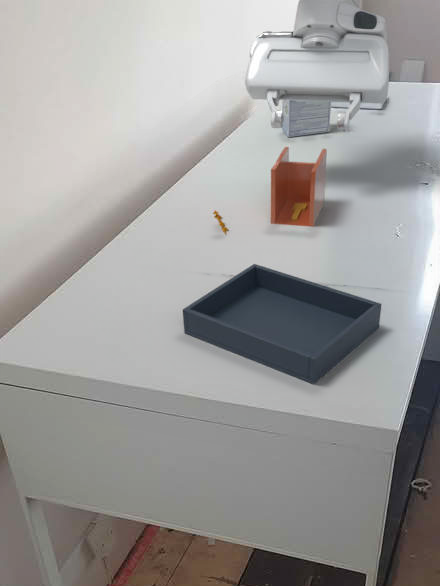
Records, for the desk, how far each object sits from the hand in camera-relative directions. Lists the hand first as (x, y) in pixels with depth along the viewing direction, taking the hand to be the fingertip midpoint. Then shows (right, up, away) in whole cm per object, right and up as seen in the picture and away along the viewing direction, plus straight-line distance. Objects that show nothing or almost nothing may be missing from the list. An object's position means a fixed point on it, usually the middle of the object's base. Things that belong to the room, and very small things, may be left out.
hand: (309, 127), depth 101 cm
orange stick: (-12, -14, 0) cm, 19 cm away
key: (-1, -12, +1) cm, 12 cm away
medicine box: (+3, +13, +30) cm, 33 cm away
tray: (-6, -33, -21) cm, 39 cm away
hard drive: (+14, +25, +42) cm, 51 cm away
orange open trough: (-1, -12, +2) cm, 12 cm away
